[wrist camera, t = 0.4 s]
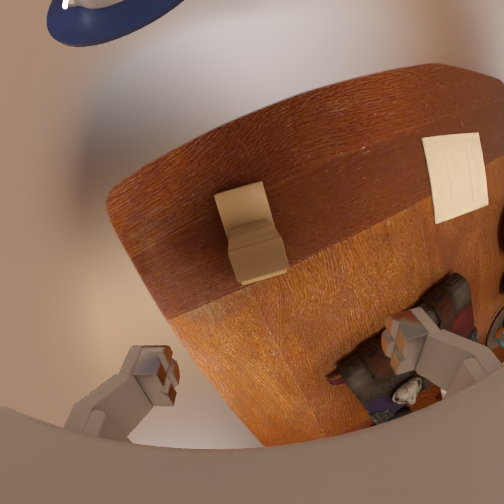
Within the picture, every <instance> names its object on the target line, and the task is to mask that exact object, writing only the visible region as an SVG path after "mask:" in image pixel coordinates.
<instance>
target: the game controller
mask: <svg viewBox="0 0 504 504" xmlns="http://www.w3.org/2000/svg"><path fill="white" fill-rule="evenodd" d="M410 413H411V409H409V408H404V409H402V410H399V411H397V412H395V415H394V416H392V417H391V418H390V419H388V420H387V421H386V422H388V421H391V420H394V419H396V418H399V417H402V416H405V415H408V414H410ZM384 423H385V422H384Z"/></svg>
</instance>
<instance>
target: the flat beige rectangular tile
mask: <svg viewBox="0 0 504 504" xmlns="http://www.w3.org/2000/svg"><path fill="white" fill-rule="evenodd" d="M421 140H422V144H423V148H424V153H425V158H426V163H427V168H428V174H429V180H430V186H431V193H432V201H433V209H434V219H435V224H438V223H441V222H443V221H446V220H449V219H452V218H454V217H457V216H460V215H463V214H465V213H468V212H471V211H473V210H476V209H478V208H481V207H484V206H486V205H488V193H487V183H486V174H485V167H484V160H483V154H482V148H481V143H480V138H479V133H478V132H476V133H463V134H452V135H442V136H434V137H426V138H421Z"/></svg>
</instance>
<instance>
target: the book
mask: <svg viewBox="0 0 504 504" xmlns="http://www.w3.org/2000/svg"><path fill="white" fill-rule="evenodd" d="M421 302H422V303H421V304H420V305H419V306H418V307H420V308H422V309H423V310H424V311H425V313H426V314H427V315H428V316H429V317H430V318H431V320H432V321H433V322H434V323H435V324H436V325H437V327H438V328H439V329H440V330H442V329H444V330H446V331H449V332H451V333H454V334H456V335H459V336H461V337H464V338H466V339H469V340H471V341H474V342H476V343H479V340H478V333H477V329H476V327H474V320H473V310H472V301H471V294H470V288H469V284H468V282H467V280H466V279H465V278H464V277H463V276H462V275H460V274H458V273H453V274H452V275H451V276H450V277H449V278H448V279H447V280H446V281H445V282H444V283H443V284H442V285H441V286H436V287H435V288H434V289H433V290H432V291H431V292H430V293H429V294H428V295H427V296H425V297H424V298H423V299H422V300H421ZM381 337H382V336H381ZM381 337H379V338H377V337H375V338H374V339H372V340H371V341H370V342H368V343H367V344H365V345H364V346H363V347H361V348H360V349H358V350H357V351H358V353H357V354H355V355H354V356H353V357H351V358H350V359H348V360H347V361H345V362H344V363H342V364H341V365H339V366H337V369H338V371H339V373H340V375H341V378H338V379H335V380H331V381H330V380H327V381H329V382H331V383H330V384H332V385H339V384H342V383H346V384H347V386H348V387H349V388H350V389H351V390H352V391H353V393H354V394H355V395H356V396H357V398H358V399H359V400H360V401H361V403H362V404H363V405H364V406H365V408H366V409H367V410H368V412H369V413H368V414H369V416H370V417H371V418H372V420H373V421H374V422H375V423H376V425H378V424H381V423H384V422H386V421H387V420H388V419H390V418H391V417H392V416H394V415H395V412H397V411H398V410H399V409H400V408H402V407H403V406H404V405H406V404H407V403H408V404H409V405H413V404H414V403H415V402H416V396H417V395H418V394H419V393H420V392H422V391H423V390H427V389H429V388H430V387H431V386H432V385H434V383H432V382H431V381H429V380H428V379H426V378H425V377H423V376H422V375H420V374H419V373H417V372H416V371H415V370H412V371H409V372H406V373H402V374H399V375H396V374H395V372H394V370H393V368H392V367H391V365H390V361H391V358H389V357H387V356H385V354H384V352H383V349H382V345H381ZM329 382H328V383H329Z"/></svg>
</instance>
